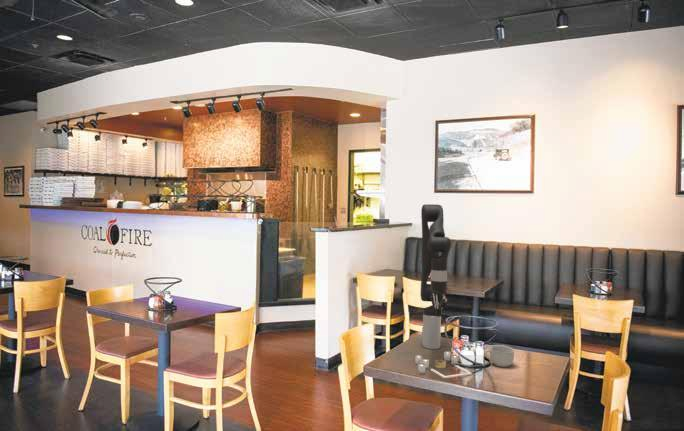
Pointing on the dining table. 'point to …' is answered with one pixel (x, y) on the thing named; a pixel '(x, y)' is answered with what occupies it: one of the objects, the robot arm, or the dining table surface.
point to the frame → (453, 375)
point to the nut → (440, 363)
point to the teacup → (500, 355)
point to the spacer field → (424, 363)
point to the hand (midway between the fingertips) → (438, 316)
